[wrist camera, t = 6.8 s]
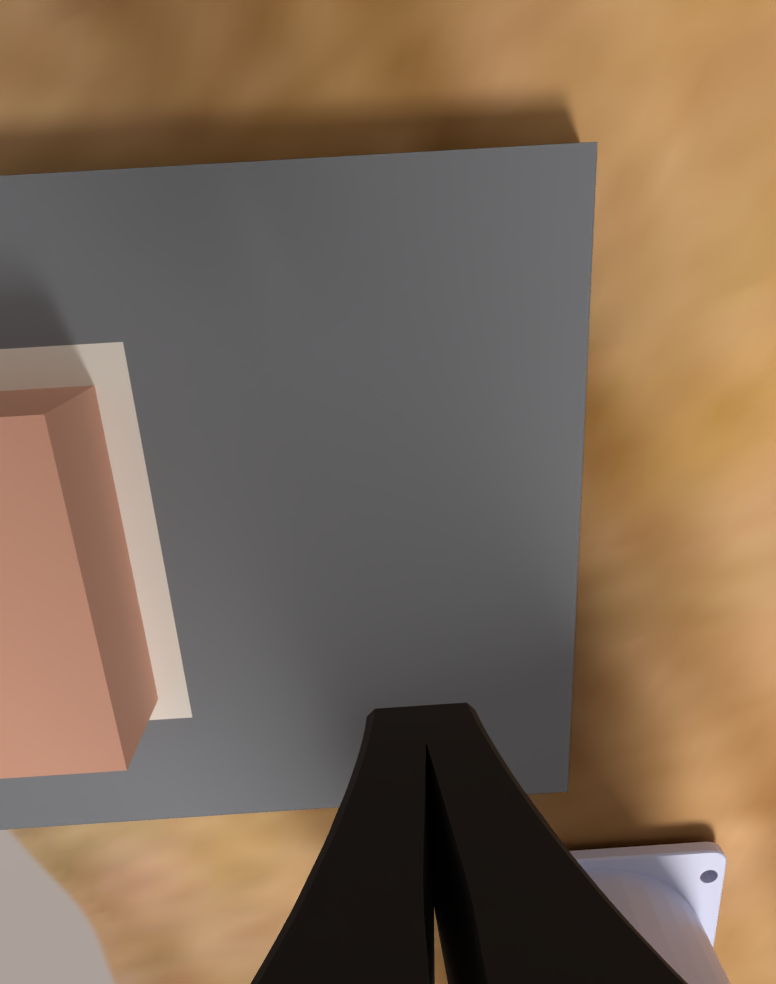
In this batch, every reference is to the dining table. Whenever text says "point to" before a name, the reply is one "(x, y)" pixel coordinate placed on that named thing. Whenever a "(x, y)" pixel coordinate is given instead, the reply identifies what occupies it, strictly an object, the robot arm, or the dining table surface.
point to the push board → (320, 452)
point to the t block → (65, 594)
